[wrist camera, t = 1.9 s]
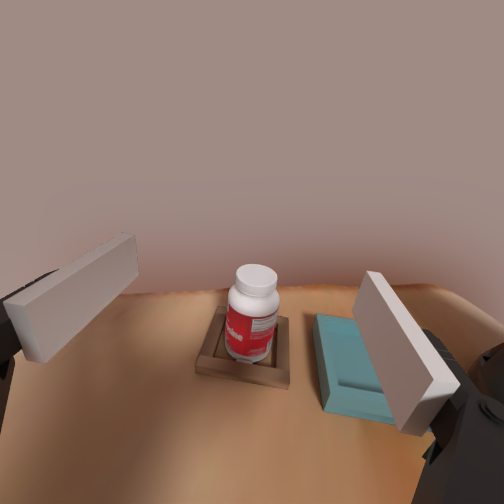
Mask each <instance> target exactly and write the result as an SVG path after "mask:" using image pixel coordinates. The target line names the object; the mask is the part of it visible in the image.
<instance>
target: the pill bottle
mask: <svg viewBox="0 0 504 504" xmlns="http://www.w3.org/2000/svg"><path fill="white" fill-rule="evenodd" d="M276 282H277V275H276V273H275V272H274V271H273V270H272V269H270V268H268V267H266V266H263V265H258V264H247V265H244V266H241V267H240V268H239V269H238V270H237V272H236V278H235V284H234V285H233V286H232V287H231V288H230V290H229V293H228V300H227V312H226V325H225V338H224V343H225V347H226V350H227V352H228V353H229V354H230V355H231V356H232V357H233V358H234V359H236V358H237V359H243V360H248V361H253V362H257V361H260V360H262V359H263V358H265V357H266V356H267V355H268V353H269V351H270V348H271V344H272V339H273V333H274V328H275V323H276V318H277V313H278V308H279V302H280V298H279V294H278V292H277V291H276Z"/></svg>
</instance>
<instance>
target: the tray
mask: <svg viewBox="0 0 504 504" xmlns="http://www.w3.org/2000/svg"><path fill="white" fill-rule="evenodd" d="M312 333H313V340H314V348H315V355H316V362H317V369H318V376H319V383H320V390H321V397H322V405H323V411H324V412H329V413H334V414H340V415H345V416H350V417H356V418H361V419H366V420H372V421H377V422H382V423H388V424H393V425H396V423H395V421H394V418H393V416H392V413H391V410H390V408H389V405H388V403H387V400H386V398H385V395H384V392H383V390H382V387H381V385H380V382H379V380H378V377H377V375H376V372H375V369H374V367H373V364H372V362H371V359H370V357H369V354H368V351H367V349H366V346H365V344H364V341H363V339H362V336H361V334H360V331H359V328H358V326H357V323H356V321H355V320H353V319H346V318H340V317H334V316H328V315H322V314H316V317H315V320H314V324H313V328H312ZM426 431H431V432H432V430H431V428H430V426H429V428H428V429H427V430H426Z"/></svg>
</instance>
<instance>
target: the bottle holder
mask: <svg viewBox="0 0 504 504" xmlns="http://www.w3.org/2000/svg"><path fill="white" fill-rule="evenodd" d="M226 312H227V308H226V307H220V306H218V309H217V311H216V314H215V317H214V319H213V322H212V324H211V327H210V329H209V332H208V334H207V337H206V340H205V342H204V345H203V347H202V350H201V352H200V355H199V357H198V360H197V363H196V365H195V373H199V374H205V375H210V376H216V377H221V378H227V379H232V380H238V381H243V382H248V383H254V384H259V385H265V386H270V387H276V388H281V389H287V390H288V387H289V384H290V371H289V320H288V318H287V317H281V316H277V318H276V323H275V328H274V329H277V339H276V363H275V368H271V367H266V366H260V365H254V364H253V361H248V360H243V359H237V358H236V361H232V360H226V359H221V358H215V357H214V355H215V352H216V349H217V346H218V343H219V340H220V337H221V334H222V330H223V327H224V324H225V321H226Z"/></svg>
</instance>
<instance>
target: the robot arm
mask: <svg viewBox="0 0 504 504" xmlns="http://www.w3.org/2000/svg"><path fill="white" fill-rule="evenodd" d="M138 276H139V268H138V258H137V249H136V239H135V234H129V233H121V234H119V235H117V236H115V237H114V238H112V239H110V240H108V241H107V242H105V243H103V244H102V245H100V246H98V247H96V248H95V249H93V250H91V251H90V252H88V253H86V254H85V255H83V256H81V257H79V258H77V259H76V260H74V261H72V262H71V263H69V264H67V265H65V266H64V267H62V268H60V269H57V270H55V271H52V272H49V273H46V274H44V275H43V276H41V277H39V278H37V279H35V281H32V282H30V283H28V284H27V285H25V287H21V288H20V289H18V290H16V291H14V292H13V293H11V294H9V295H7V296H5V297H4V298H2V299H0V433H1V428H2V423H3V419H4V414H5V409H6V405H7V400H8V395H9V390H10V386H11V381H12V376H13V371H14V367H15V359H14V357H13V356H14V355H15V354H16V353H17V352H19V351H20V350H21V349H22V351H23V353H24V356H25V358H26V360H27V361H33V362H38V363H43V364H46V363H47V362H48V361H49V360H50V359H51V358H52V357H53V356H54V355H55V354H56V353H57V352H58V351H60V350H61V349H62V348H63V347H64V346H65V345H66V344H67V343H68V342H69V341H70V340H71V339H72V338H73V337H74V336H75V335H76V334H78V333H79V332H80V331H81V330H82V329H83V328H84V327H85V326H86V325H87V324H88V323H89V322H90V321H91V320H92V319H93V318H94V317H96V316H97V315H98V314H99V313H100V312H101V311H102V310H103V309H104V308H105V307H106V306H107V305H108V304H109V303H110V302H111V301H113V300H114V299H115V298H116V297H117V296H118V295H119V294H120V293H121V292H122V291H123V290H124V289H125V288H126V287H127V286H128V285H129V284H130V283H132V281H134V280H135V279H136V278H137V277H138ZM352 313H353V316H354V318H355V321H356V323H357V326H358V328H359V331H360V334H361V336H362V339H363V341H364V344H365V346H366V349H367V351H368V354H369V357H370V359H371V362H372V364H373V367H374V369H375V372H376V375H377V377H378V380H379V382H380V385H381V387H382V390H383V392H384V395H385V398H386V400H387V403H388V405H389V408H390V410H391V413H392V416H393V418H394V421H395V423H396V426H397V428H398V431H399V433H404V434H410V435H415V436H420V437H422V436H423V435H424V433H425V432H426V430H427V429H428V428H429V426H430V428H431V430H432V432H433V434H434V436H435V438H436V439H435V441H434V442H433V443H432V444H431V446H430V447H429V448H428V449H427V451H426V452H425V453H424V455H423V456H422V457H423V458H424V459H425V460H426V462H425V465H424V468H423V471H422V473H421V476H420V479H419V482H418V485H417V488H416V491H415V494H414V497H413V500H412V503H411V504H504V342H503V343H501V344H500V345H498V346H496V347H494V348H492V349H490V350H488V351H486V352H485V353H483V354H482V355H480V356H479V357H478V359H477V360H476V361H475V363H474V364H473V365H472V367H471V368H470V371H469V377H468V376H467V374H466V373H465V372H464V371H463V369H462V368H461V367H460V365H459V364H458V363H457V362H456V361H455V359H454V358H453V356H452V355H451V354H450V353H449V352H448V350H447V349H446V347H445V346H444V345H443V343H442V342H441V341H440V340H439V339H438V338H437V337H436V336H435V335H433V334H432V333H431V332H430V331H428V330H425V329H421V328H420V327H419V326H418V324H417V323H416V321H415V320H414V319H413V317H412V316H411V315H410V313H409V312H408V310H407V309H406V308H405V306H404V305H403V303H402V302H401V301H400V299H399V298H398V296H397V295H396V294H395V292H394V291H393V289H392V288H391V287H390V285H389V284H388V282H387V281H386V280H385V278H384V277H383V275H382V274H381V273H378V272H372V271H366V273H365V276H364V278H363V281H362V284H361V286H360V289H359V292H358V295H357V297H356V300H355V303H354V305H353V308H352Z"/></svg>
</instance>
